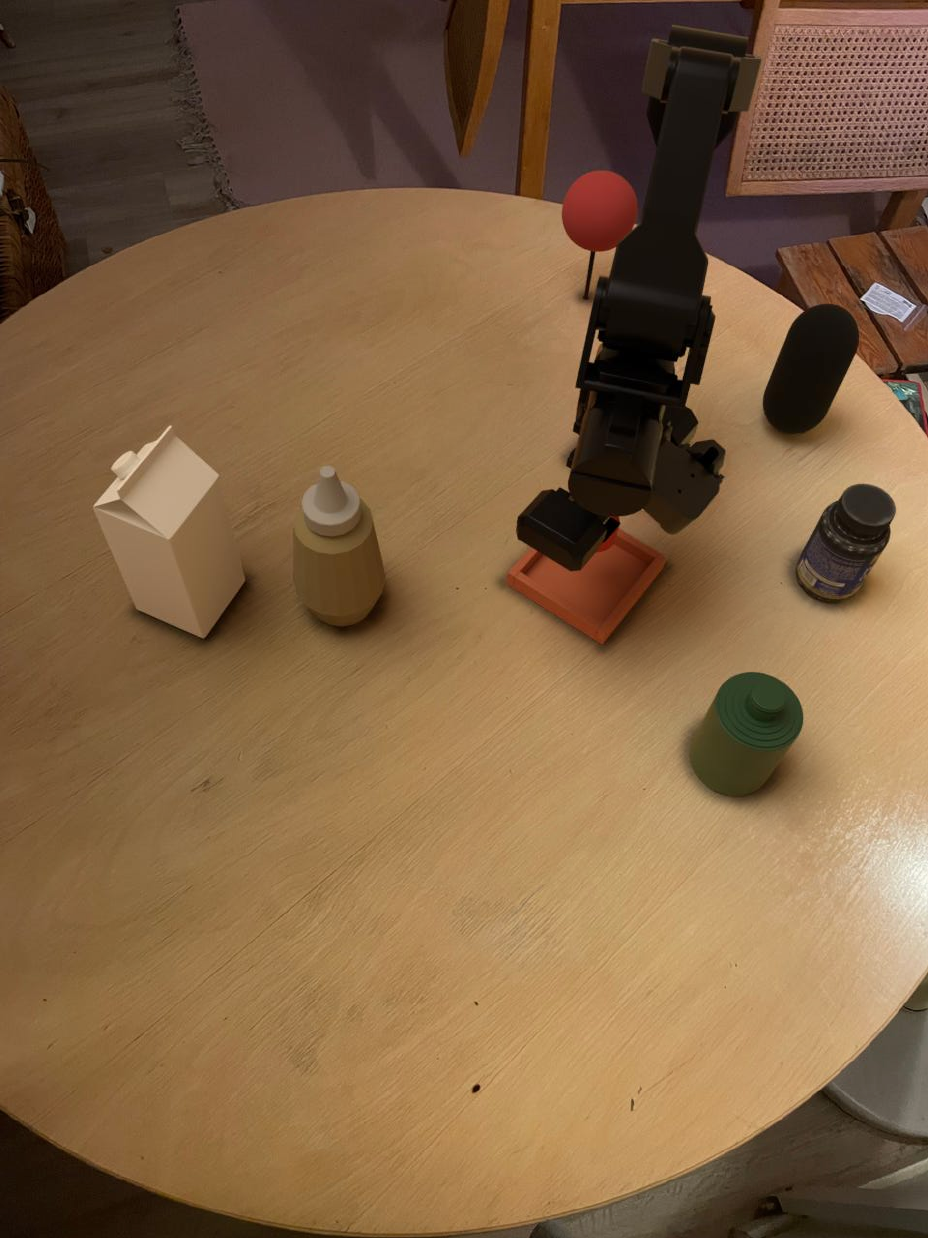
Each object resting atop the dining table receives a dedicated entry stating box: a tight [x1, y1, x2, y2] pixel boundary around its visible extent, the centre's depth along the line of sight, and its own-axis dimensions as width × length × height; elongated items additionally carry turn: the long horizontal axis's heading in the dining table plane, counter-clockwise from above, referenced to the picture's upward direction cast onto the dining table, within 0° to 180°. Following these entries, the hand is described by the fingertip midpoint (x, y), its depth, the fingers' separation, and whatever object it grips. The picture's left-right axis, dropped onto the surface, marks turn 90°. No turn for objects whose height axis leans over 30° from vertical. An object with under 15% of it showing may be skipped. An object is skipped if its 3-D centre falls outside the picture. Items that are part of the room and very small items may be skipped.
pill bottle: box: [795, 483, 897, 603], centre depth 93 cm, size 6×6×11 cm
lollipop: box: [561, 170, 639, 301], centre depth 111 cm, size 8×8×15 cm
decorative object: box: [762, 303, 860, 435], centre depth 101 cm, size 7×7×15 cm
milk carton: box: [92, 424, 246, 639], centre depth 86 cm, size 7×7×19 cm
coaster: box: [506, 528, 667, 645], centre depth 96 cm, size 11×11×2 cm
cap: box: [597, 516, 621, 552], centre depth 91 cm, size 4×4×2 cm
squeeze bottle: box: [292, 465, 387, 627], centre depth 87 cm, size 8×8×18 cm
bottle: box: [689, 671, 804, 797], centre depth 82 cm, size 7×7×12 cm
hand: (595, 535), depth 91 cm, fingers closed on cap, 4 cm apart
